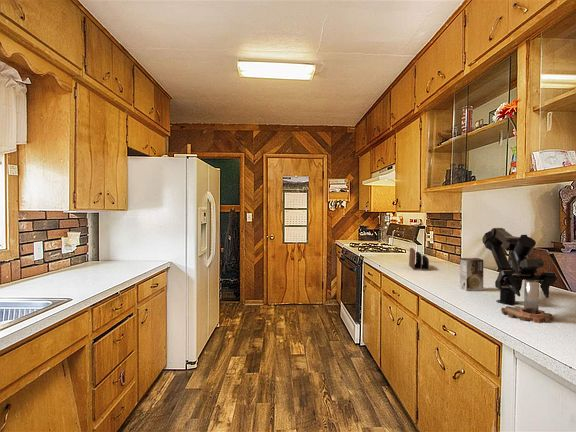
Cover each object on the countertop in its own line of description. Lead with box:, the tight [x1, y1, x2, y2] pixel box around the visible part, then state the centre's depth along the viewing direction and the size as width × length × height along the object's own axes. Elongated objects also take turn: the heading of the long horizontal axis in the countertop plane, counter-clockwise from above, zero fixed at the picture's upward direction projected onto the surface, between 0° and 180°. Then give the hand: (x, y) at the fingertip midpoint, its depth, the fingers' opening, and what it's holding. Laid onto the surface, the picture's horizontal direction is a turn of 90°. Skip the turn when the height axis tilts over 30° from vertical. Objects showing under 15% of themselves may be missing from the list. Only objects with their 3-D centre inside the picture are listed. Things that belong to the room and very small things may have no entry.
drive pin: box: [523, 280, 540, 314], centre depth 127 cm, size 4×4×13 cm
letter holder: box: [408, 247, 430, 272], centre depth 235 cm, size 10×20×14 cm, turn 169°
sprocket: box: [500, 305, 555, 323], centre depth 131 cm, size 16×16×3 cm
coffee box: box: [459, 257, 484, 292], centre depth 172 cm, size 9×6×16 cm
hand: (533, 296), depth 125 cm, fingers open, 9 cm apart
